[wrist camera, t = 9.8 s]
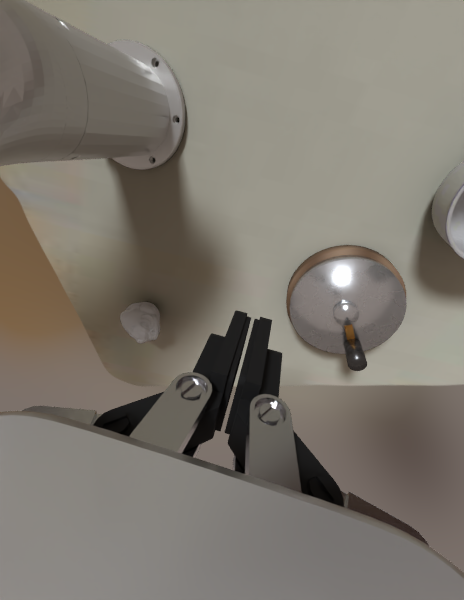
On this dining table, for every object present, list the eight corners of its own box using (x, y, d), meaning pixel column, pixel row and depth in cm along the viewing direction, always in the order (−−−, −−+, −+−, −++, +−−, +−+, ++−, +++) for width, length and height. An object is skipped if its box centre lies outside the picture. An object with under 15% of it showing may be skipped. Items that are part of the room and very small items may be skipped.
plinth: (275, 325, 44) (274, 332, 42) (305, 233, 36) (305, 237, 35) (372, 351, 43) (375, 360, 41) (423, 261, 35) (430, 267, 33)
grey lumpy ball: (168, 330, 49) (150, 356, 43) (131, 316, 49) (108, 340, 43) (175, 302, 46) (156, 326, 40) (135, 288, 46) (111, 308, 40)
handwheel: (407, 338, 38) (422, 366, 33) (303, 353, 43) (303, 379, 38) (396, 241, 32) (412, 257, 28) (278, 270, 37) (274, 288, 32)
